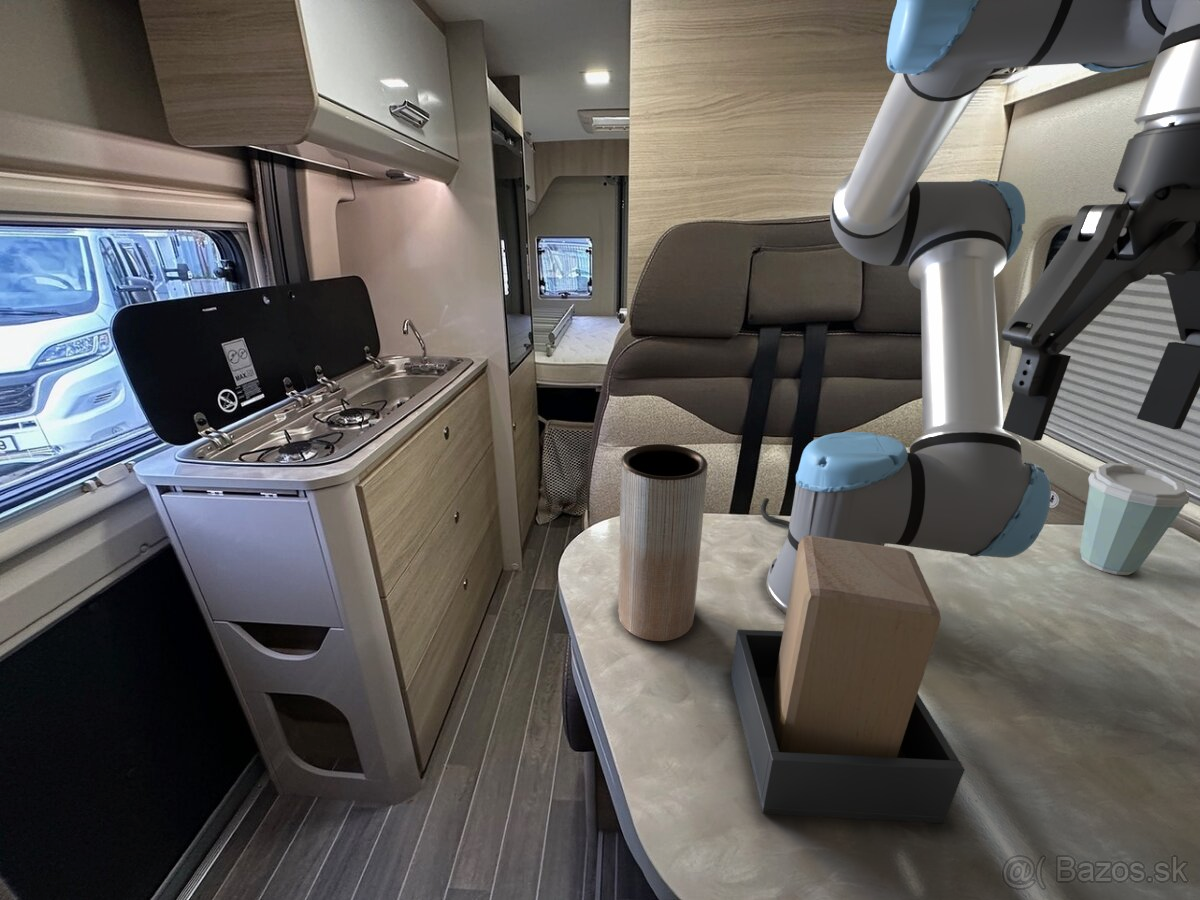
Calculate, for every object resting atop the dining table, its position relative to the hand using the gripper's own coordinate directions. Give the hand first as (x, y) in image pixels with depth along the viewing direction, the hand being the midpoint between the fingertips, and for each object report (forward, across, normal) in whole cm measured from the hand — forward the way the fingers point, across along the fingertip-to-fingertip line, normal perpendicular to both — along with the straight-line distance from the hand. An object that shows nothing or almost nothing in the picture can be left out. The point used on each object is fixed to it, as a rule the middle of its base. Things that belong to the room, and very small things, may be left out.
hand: (1091, 429), depth 43 cm
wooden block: (+32, -17, +1) cm, 36 cm away
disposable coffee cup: (+33, +43, +21) cm, 58 cm away
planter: (+33, -28, +22) cm, 49 cm away
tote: (+33, -17, +1) cm, 37 cm away
